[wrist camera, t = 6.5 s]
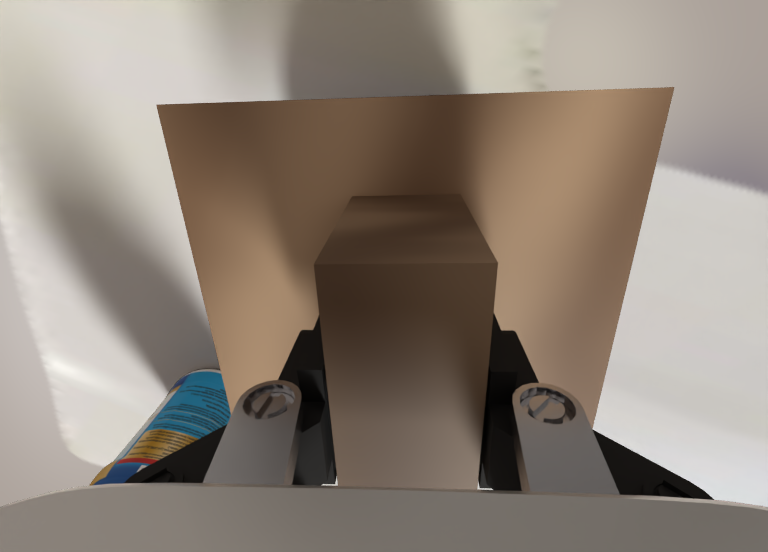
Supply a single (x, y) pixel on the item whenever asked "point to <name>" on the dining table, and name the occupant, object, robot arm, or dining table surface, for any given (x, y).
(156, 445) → the beverage bottle
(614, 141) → the lid
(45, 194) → the dining table surface
